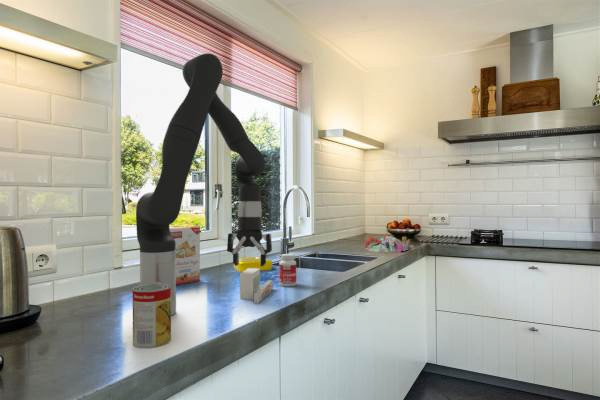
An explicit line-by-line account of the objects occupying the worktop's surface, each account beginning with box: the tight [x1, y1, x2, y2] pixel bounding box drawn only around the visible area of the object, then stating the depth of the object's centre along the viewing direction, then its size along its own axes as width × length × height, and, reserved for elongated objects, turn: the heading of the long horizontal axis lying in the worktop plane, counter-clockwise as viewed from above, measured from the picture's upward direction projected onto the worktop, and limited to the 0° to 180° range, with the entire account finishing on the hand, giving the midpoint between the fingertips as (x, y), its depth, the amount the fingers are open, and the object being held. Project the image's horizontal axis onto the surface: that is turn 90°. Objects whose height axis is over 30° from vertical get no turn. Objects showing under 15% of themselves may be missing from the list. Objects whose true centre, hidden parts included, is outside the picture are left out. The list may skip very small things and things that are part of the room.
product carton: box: [239, 268, 261, 300], centre depth 134 cm, size 4×10×8 cm, turn 172°
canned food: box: [132, 283, 172, 349], centre depth 91 cm, size 8×8×12 cm
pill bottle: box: [278, 253, 297, 287], centre depth 150 cm, size 6×6×11 cm
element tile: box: [233, 255, 273, 273], centre depth 187 cm, size 15×15×5 cm
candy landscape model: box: [364, 235, 411, 253], centre depth 248 cm, size 25×24×9 cm
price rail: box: [253, 279, 274, 304], centre depth 133 cm, size 20×2×3 cm, turn 172°
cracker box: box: [169, 225, 201, 285], centre depth 156 cm, size 14×6×21 cm, turn 141°
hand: (249, 265), depth 134 cm, fingers open, 8 cm apart
